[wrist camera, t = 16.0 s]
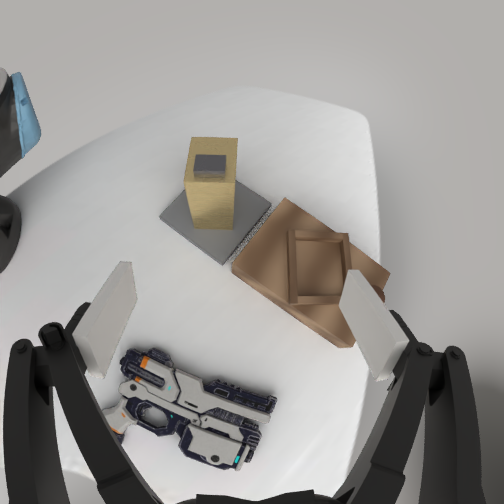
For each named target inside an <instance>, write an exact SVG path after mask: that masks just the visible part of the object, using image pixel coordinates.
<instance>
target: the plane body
mask: <svg viewBox="0 0 504 504" xmlns="http://www.w3.org/2000/svg"><path fill="white" fill-rule="evenodd" d="M348 270H359V271H360V272H361V273H362V274H363V276H364V277H365V278H366V280H367V281H368V282H369V284H370V285H371V286H372V288H373V289H374V291H375V292H376V293H377V295H378V296H379V297H380V299H381V300H382V302H383V303H384V302H385V295H384V292H383V291H382V290H383V288H384V286H385V284H386V282H387V280H388V278H389V275H390V273H389V272H388V271H387V270H386V269H384V268H383V267H382V266H380V265H379V264H378V263H376V262H375V261H374V260H372V259H371V258H370V257H369V256H367V255H366V254H365V253H363V252H362V251H361V250H359V249H358V248H356V247H355V246H354V245H352V244H351V243H350V242H349V236H348V233H336V232H334V231H333V230H332V229H330V228H329V227H327V226H326V225H325V224H323V223H322V222H320V221H319V220H317V219H316V218H314V217H313V216H312V215H310V214H309V213H307V212H306V211H304V210H303V209H301V208H300V207H298V206H297V205H295V204H294V203H292V202H291V201H289V200H288V199H286V198H284V199H283V200H282V201H281V203H280V204H279V205H278V206H277V208H276V209H275V210H274V211H273V213H272V214H271V215H270V216H269V218H268V219H267V220H266V221H265V223H264V224H263V225H262V226H261V228H260V229H259V230H258V231H257V233H256V234H255V235H254V236H253V238H252V239H251V240H250V241H249V243H248V244H247V245H246V246H245V248H244V249H243V250H242V251H241V253H240V254H239V255H238V257H237V258H236V259H235V260H234V262H233V263H232V273H233V274H234V275H236V276H237V277H239V278H240V279H241V280H243V281H244V282H245V283H247V284H248V285H250V286H251V287H252V288H254V289H255V290H257V291H258V292H259V293H261V294H262V295H264V296H265V297H266V298H268V299H269V300H271V301H272V302H273V303H275V304H276V305H278V306H279V307H280V308H282V309H283V310H285V311H286V312H288V313H289V314H290V315H292V316H293V317H295V318H296V319H298V320H299V321H300V322H302V323H303V324H305V325H306V326H308V327H309V328H311V329H312V330H313V331H315V332H316V333H318V334H319V335H321V336H322V337H324V338H325V339H327V340H328V341H329V342H331V343H332V344H334V345H335V346H337V347H338V348H349V347H353V345H354V343H355V341H356V339H355V337H354V335H353V333H352V331H351V329H350V327H349V325H348V323H347V321H346V319H345V317H344V315H343V313H342V312H341V310H340V308H339V302H340V299H341V295H342V292H343V288H344V284H345V280H346V277H347V273H348Z"/></svg>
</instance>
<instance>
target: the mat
mask: <svg viewBox="0 0 504 504" xmlns="http://www.w3.org/2000/svg"><path fill="white" fill-rule="evenodd" d="M270 206H271V203H270V202H269V201H267V200H266V199H264V198H263V197H261V196H260V195H258V194H257V193H255V192H253V191H252V190H250V189H249V188H247V187H246V186H244V185H243V184H241V183H239V182H238V181H236V180H235V195H234V213H233V230H212V229H195V228H194V224H193V220H192V216H191V212H190V208H189V203H188V199H187V195H186V190H184V191H183V192H182V193H181V194H180V195H179V196H178V197H177V198H176V199H175V200H174V201H173V202H172V203H171V204H170V205H169V206H168V208H167V209H166V210H165V211H164V212H163V213H162V214H161V215H160V216H159V217H160V219H161V220H162V221H164V222H165V223H166V224H167V225H169V226H170V227H171V228H173V229H174V230H175V231H177V232H178V233H179V234H181V235H182V236H183V237H185V238H186V239H187V240H189V241H190V242H191V243H193V244H194V245H195V246H197V247H198V248H199V249H201V250H202V251H203V252H205V253H206V254H207V255H209V256H210V257H211V258H213V259H214V260H215V261H217V262H218V263H219V264H221V265H222V266H223V264H224V263H225V262H226V261H227V259H228V258H229V257H230V256H231V254H232V253H233V252H234V251H235V249H236V248H237V247H238V246H239V244H240V243H241V242H242V241H243V239H244V238H245V237H246V236H247V235H248V233H249V232H250V231H251V230H252V228H253V227H254V226H255V225H256V223H257V222H258V221H259V220H260V219H261V217H262V216H263V215H264V214H265V212H266V211H267V210H268V209H269V208H270Z"/></svg>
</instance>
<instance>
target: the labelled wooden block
mask: <svg viewBox="0 0 504 504" xmlns="http://www.w3.org/2000/svg"><path fill="white" fill-rule="evenodd" d="M237 142H238V138H217V137H192V138H191V143H190V148H189V154H188V159H187V165H186V170H185V176H184V186H185V190H186V195H187V199H188V203H189V208H190V212H191V216H192V220H193V224H194V228H195V229H212V230H233V213H234V195H235V177H236V159H237Z"/></svg>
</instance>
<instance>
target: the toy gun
mask: <svg viewBox="0 0 504 504" xmlns="http://www.w3.org/2000/svg"><path fill="white" fill-rule="evenodd" d="M120 364H121V365H122V366H121V371H122V373H123V374H124V376H126V377H128V378H129V381H126V382H123V383H121V384H120V387H119V393H121V394H123V395H122V397H121V399H120V401H119V403H118V405H116V406H115V407H113V408H108V409H104V410H102V412H103V414H104V416H105V418H106V420H107V422H108V424H109V425H110V427H111V429H112V431H113V432H114V434H115V436H116V437H117V439H118V441H119V442H120V444H122V441H123V438H124V431H125V430H126V429H127V427H128V426H129V425H130V424H133V425H139V426H141V427H143V428H145V429H147V430H149V431H151V432H153V433H155V434H156V435H157V436H158V437H159V436H166V435H173V434H174V432H176V433H177V434H178V435H179V437H180V438H181V440H180V442H179V445H178V446H179V448H180V449H181V451H182V452H183V454H184V455H185V456H186V457H189V458H191V459H194V460H197V461H199V462H202V463H205V464H208V465H210V466H213V467H216V468H219V469H223V470H226V469H229V468H233V469H235V471H239V470H240V469H241V466H242V464H243V462H247V463H248V462H250V461H251V459H252V457H253V454H254V451H255V450H256V446H257V445H258V443H259V441H260V440H259V439H261V436H262V435H261V432H260V431H259V430H258V428H259V426H258V425H256V424H254V425H253V423H250V422H249V423H248V422H247V421H244V422H243V419H244V417H247V418H250V419H253V420H256V421H259V422H262V423H265V424H266V423H268V422H269V420H270V417H271V416H270V413H272V412H273V409H274V407H275V404H276V402H277V398H276V397H274V396H271V395H269V396H268V397H263V396H260V395H257V394H255V393H252V392H249V391H246V390H243V389H240V387H238V386H237V388H234V385H232V384H231V386H228V385H227V382H224V383H221V380H219V379H217V381H215V380H214V381H212V382H210V383H208V384H206V385H203V382H202V379H200V378H198V377H196V376H193V375H191V374H188V373H186V372H184V371H181V370H179V369H177V368H176V371H174V369H173V368H172V367H173V363H172V361H171V359H170V356H169V355H167V354H165V353H163V352H161V351H159V350H157V349H155V348H152V350H151V349H149V351H148V352H145V351H143V352H142V353H141V352H139V351H137V350H135V349H129V350H127V353H126V355H125V357H123V358H122V359H121V360H120ZM152 406H153V407H155V408H157V409H159V410H161V411H163V412H164V413H165V415H166V417H167V419H168V423H167V426H161V427H156V426H154V425H153V424H151V423H149V422H147V421H145V420H143V419H142V418H141V416H145V413H144V411H145V410H146V409H149V408H152Z"/></svg>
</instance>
